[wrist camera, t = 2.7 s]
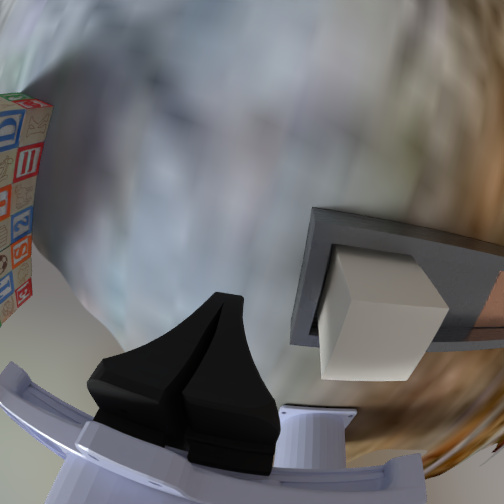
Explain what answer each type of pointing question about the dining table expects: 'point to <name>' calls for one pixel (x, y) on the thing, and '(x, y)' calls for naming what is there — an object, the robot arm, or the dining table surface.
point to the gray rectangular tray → (431, 262)
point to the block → (375, 315)
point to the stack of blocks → (18, 193)
